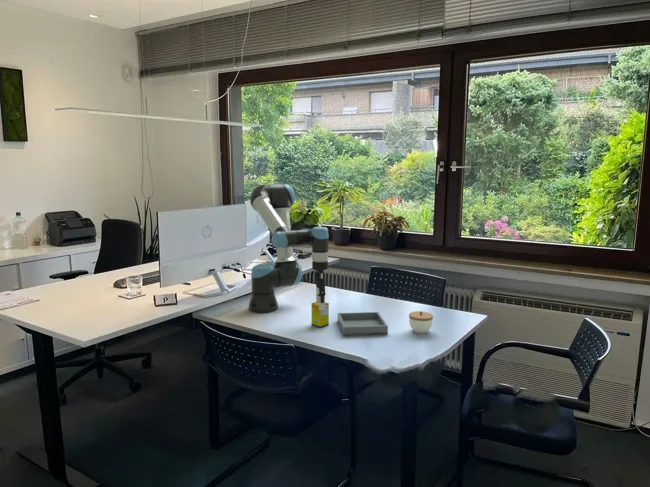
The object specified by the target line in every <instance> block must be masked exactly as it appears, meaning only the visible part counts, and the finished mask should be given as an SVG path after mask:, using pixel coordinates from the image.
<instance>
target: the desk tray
mask: <svg viewBox="0 0 650 487" xmlns="http://www.w3.org/2000/svg"><path fill="white" fill-rule="evenodd" d="M337 323H338V326H339V328H340V331H341V334H342V336H343V337H352V336H353V337H354V336H383V335H386V336H387V335H388V334H389V333H388V331H389V325H388V323H387V322H386V321H385V319H384V318H383V316H382V315H381V314H380V312H379V311H373V312H372V311H370V312H368V311H367V312H338V313H337Z"/></svg>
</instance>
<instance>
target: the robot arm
mask: <svg viewBox="0 0 650 487" xmlns="http://www.w3.org/2000/svg"><path fill="white" fill-rule="evenodd" d="M295 196H296V195H295V191H294V189H293V187H292V186H291V185H289V184H287V183H277V184H276V183H275V184H273V183H272V184H261V185H260V184H259V185H258V186H256V187H255V188H254V189H253V190H252V191H251V193H250V196H249V202H250V206H251V208H252V209H253V210H254V211H255V212H256V213H257V214H259V216H260V217H261V219H262V221H263V222H264V224H265V225H266V226H267V227H268V229H269V231H270V232H271V234H272V235H271V242H272V245H273V247H274V248H276V260H274V263H272V262H263V263H259V264H255V265H254V266H253V267H251V275H250V276H251V297H250V300H249V303H248V310H249V311H250V312H253V313H257V314H259V313H260V314H261V313H262V314H266V313H273V312H275V311H277V310H278V309H279V303H278V300H277V297H276V295H275V294H276V293H275V289H276V288H282V287H292V286H295V285H298V284H299V283H300V282H301V280H302V276H303V269H302V265H301V264H300V263H299V262H298V261H297V260H298V259H297V258H295V257H294V251H293V250H294V249H293V248H294V247H302V246H303V247H305V246H311V260H312V262H311V265H312V266H311V269H312V270H313V271H316V272H315V287H316V288H315V289H316V290H315V294H316V295H315V296H316V300H315V302H317V301H319V310H325V302H326V295H327V294H326V282H325V281H326V278H325V277H326V273H325V272H324V271H327V270H328V269H329V256H330V253H329V229H328V228H327V226H326V227H325V226H314V227H312V228H302V229H298V230H297V229H296V230H291V229H292V227H291V218H290V217H291V216H290V211H291V210H292V207H293V205H294V204H295V201H296V197H295Z"/></svg>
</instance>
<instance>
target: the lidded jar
mask: <svg viewBox="0 0 650 487" xmlns="http://www.w3.org/2000/svg"><path fill="white" fill-rule="evenodd" d="M408 317H409V318H408V319H409V320H408V321H409V326H410V328H411V329H412V331H413V332H414V333H416V334H426V333H428V331H430V329H431V328H432V325H433V322H434V321H433V319H434V315H433V314H432V313H431V312H427V311H423V310H420V311H417V310H416V311H412V312H409V313H408Z"/></svg>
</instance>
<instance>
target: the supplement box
mask: <svg viewBox="0 0 650 487" xmlns="http://www.w3.org/2000/svg"><path fill="white" fill-rule="evenodd" d="M329 307H330V306H329V302H326V301H325V310H319V301H314V302H311V326H313V327H315V328H319V329H321V328H324V327H327V326H329V325H330V321H329V318H330V316H329V312H330V308H329Z"/></svg>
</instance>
